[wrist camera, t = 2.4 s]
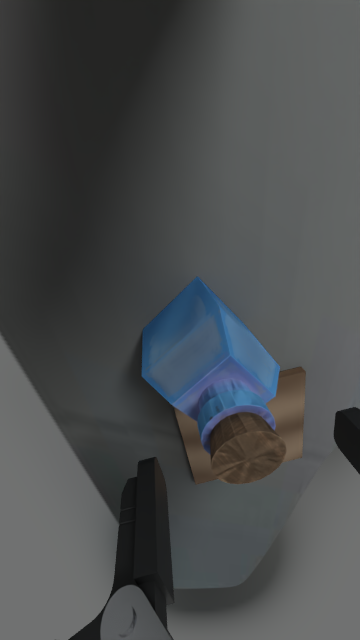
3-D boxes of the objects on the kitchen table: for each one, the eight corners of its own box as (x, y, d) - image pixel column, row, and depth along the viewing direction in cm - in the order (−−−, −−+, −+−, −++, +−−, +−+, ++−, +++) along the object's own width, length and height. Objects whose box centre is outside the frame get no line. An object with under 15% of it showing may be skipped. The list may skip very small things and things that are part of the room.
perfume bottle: (244, 324, 21) (347, 448, 10) (193, 369, 22) (236, 519, 12) (197, 276, 19) (266, 370, 8) (142, 329, 20) (139, 471, 9)
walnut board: (172, 398, 24) (172, 404, 23) (300, 366, 24) (305, 371, 23) (194, 477, 29) (195, 484, 28) (298, 451, 30) (301, 457, 29)
